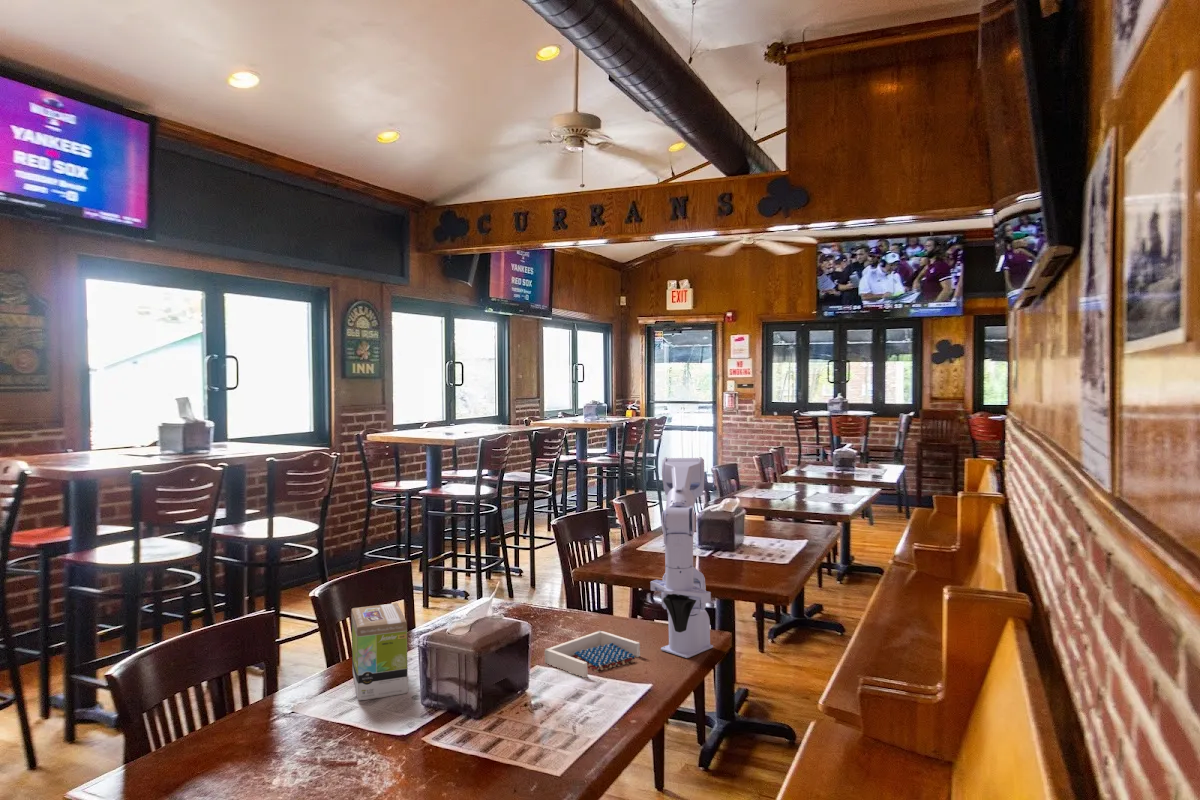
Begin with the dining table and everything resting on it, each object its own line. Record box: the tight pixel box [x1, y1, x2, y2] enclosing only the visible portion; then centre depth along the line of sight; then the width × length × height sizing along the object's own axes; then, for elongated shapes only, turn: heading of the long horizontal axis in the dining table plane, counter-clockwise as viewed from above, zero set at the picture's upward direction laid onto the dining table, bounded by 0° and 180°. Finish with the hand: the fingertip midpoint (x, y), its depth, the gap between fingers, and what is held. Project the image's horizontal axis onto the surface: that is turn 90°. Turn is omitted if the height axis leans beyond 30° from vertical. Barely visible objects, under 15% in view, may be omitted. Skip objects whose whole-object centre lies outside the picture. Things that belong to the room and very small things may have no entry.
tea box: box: [350, 602, 409, 701], centre depth 160 cm, size 15×10×15 cm, turn 22°
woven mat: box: [572, 643, 636, 673], centre depth 171 cm, size 10×11×2 cm
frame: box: [544, 630, 641, 678], centre depth 171 cm, size 17×12×3 cm
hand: (680, 630), depth 161 cm, fingers closed
